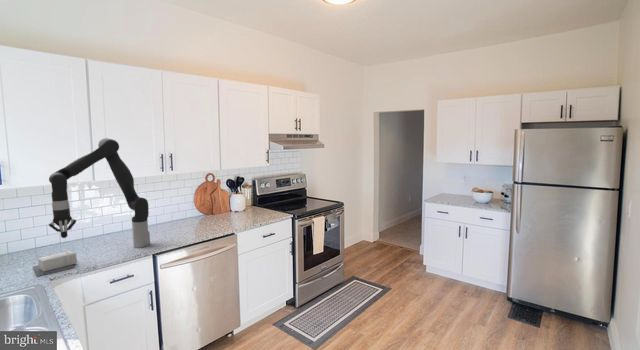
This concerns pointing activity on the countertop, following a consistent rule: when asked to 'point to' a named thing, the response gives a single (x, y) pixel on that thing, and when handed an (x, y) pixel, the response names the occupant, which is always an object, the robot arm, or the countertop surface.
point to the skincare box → (57, 260)
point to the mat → (40, 272)
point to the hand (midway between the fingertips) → (64, 237)
